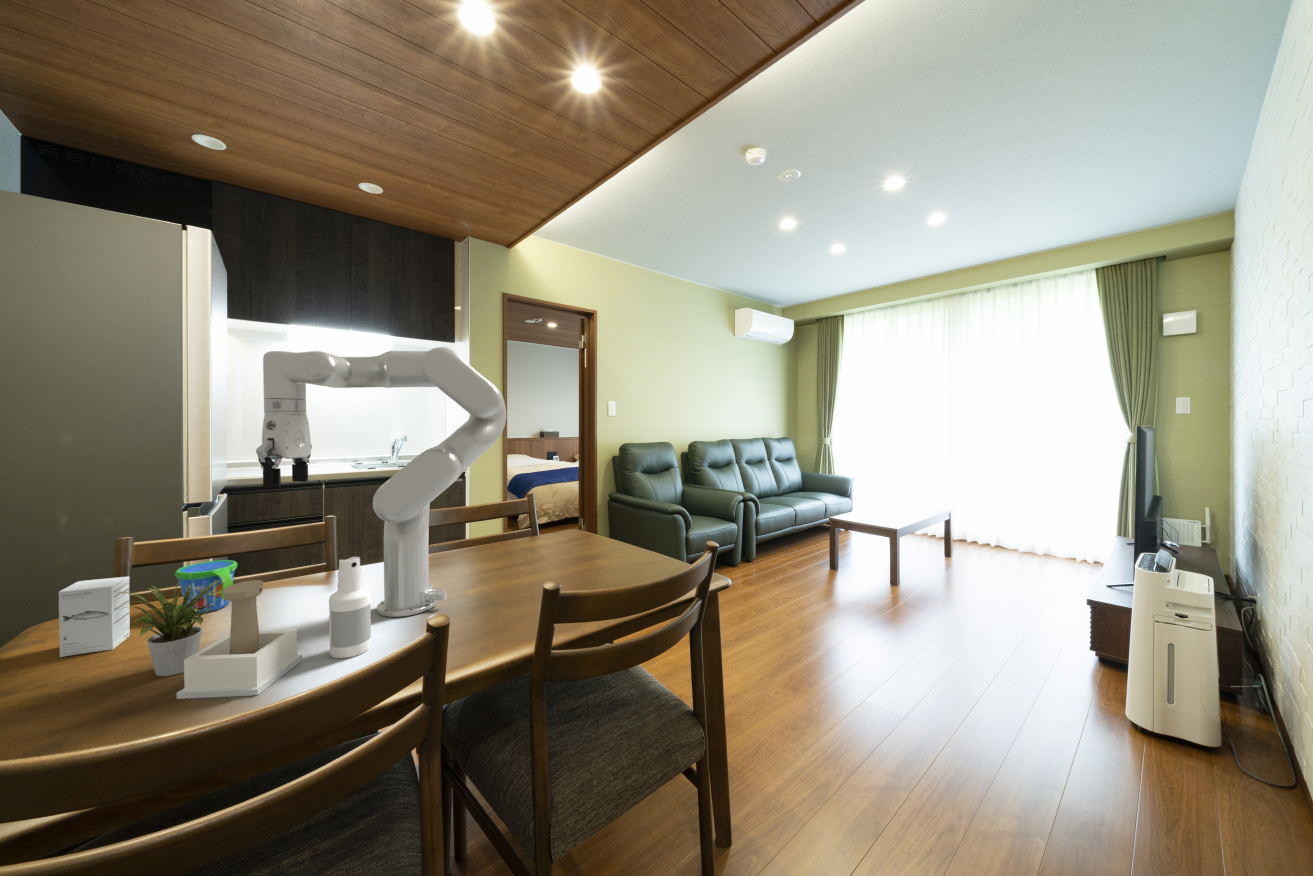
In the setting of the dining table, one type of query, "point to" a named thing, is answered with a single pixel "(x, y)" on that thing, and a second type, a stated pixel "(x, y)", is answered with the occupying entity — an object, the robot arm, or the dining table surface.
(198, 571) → the snack cup
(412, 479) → the robot arm
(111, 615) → the supplement box
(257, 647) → the handle
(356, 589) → the spray bottle
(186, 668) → the box
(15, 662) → the dining table surface
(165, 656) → the house plant
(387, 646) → the dining table surface
